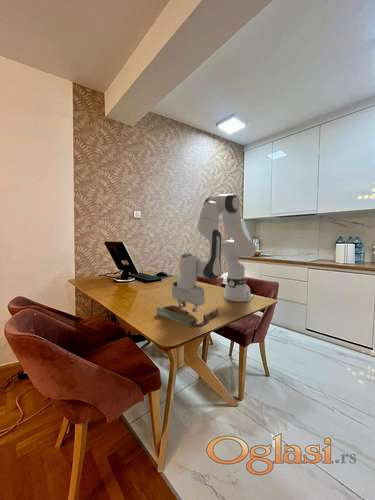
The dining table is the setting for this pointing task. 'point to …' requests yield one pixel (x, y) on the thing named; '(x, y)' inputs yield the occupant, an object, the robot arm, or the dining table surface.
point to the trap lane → (181, 318)
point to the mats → (200, 323)
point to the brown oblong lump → (181, 312)
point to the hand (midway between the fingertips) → (187, 309)
